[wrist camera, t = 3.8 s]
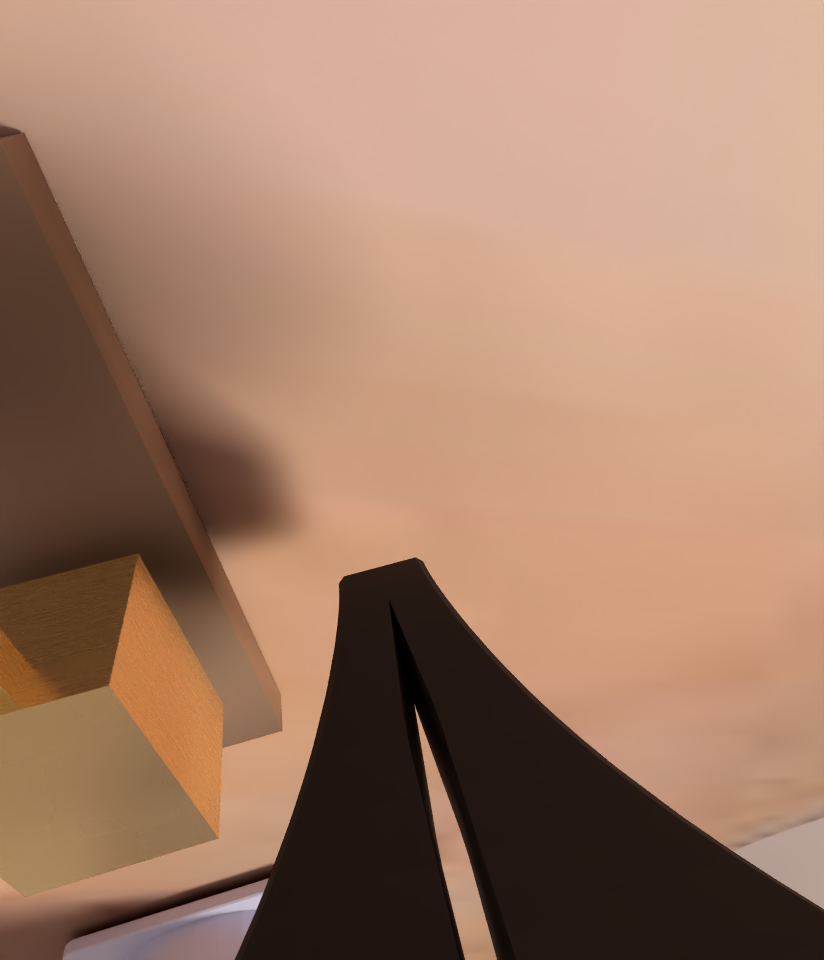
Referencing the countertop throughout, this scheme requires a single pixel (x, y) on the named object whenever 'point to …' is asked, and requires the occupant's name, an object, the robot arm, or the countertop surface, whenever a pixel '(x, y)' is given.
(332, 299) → the countertop surface
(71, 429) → the gauge board
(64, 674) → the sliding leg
